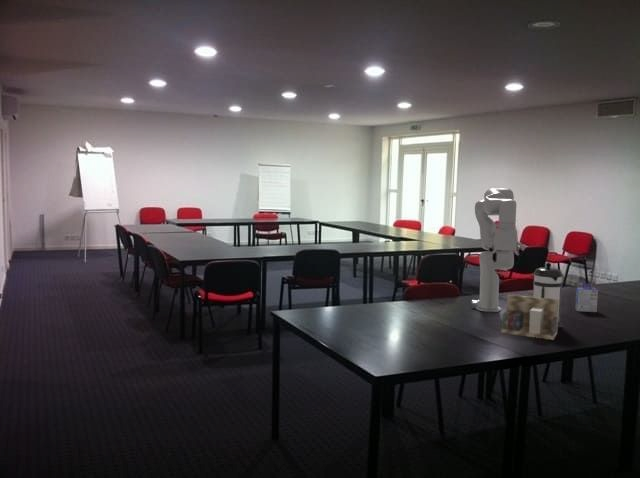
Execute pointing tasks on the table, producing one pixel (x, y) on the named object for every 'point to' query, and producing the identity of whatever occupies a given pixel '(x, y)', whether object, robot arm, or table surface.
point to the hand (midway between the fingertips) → (505, 262)
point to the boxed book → (536, 320)
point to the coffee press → (548, 284)
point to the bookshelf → (519, 316)
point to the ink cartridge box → (586, 299)
